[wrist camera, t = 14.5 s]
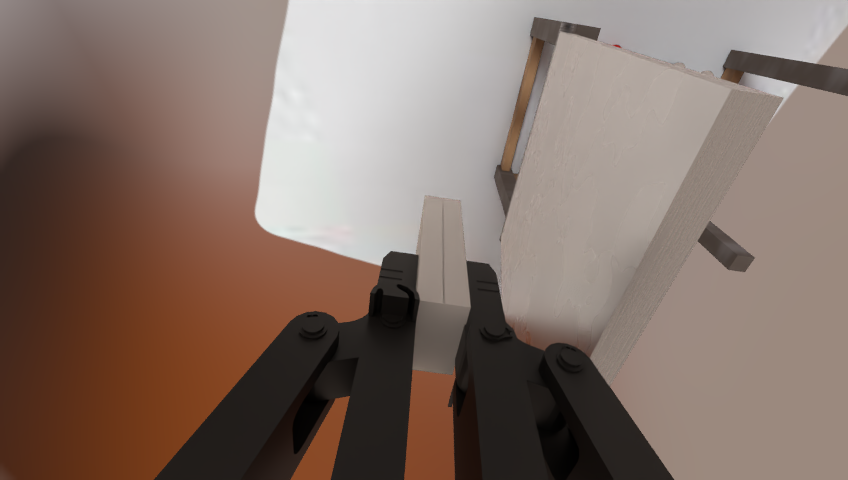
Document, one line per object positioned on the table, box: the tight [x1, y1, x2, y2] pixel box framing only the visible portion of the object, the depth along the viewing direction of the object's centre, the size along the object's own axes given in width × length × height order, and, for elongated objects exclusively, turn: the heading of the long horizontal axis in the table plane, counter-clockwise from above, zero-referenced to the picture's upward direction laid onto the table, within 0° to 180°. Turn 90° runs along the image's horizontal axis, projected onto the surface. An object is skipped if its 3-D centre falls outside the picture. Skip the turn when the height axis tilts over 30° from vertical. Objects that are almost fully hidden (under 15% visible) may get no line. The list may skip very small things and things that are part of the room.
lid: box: [500, 22, 783, 386], centre depth 19 cm, size 16×22×1 cm
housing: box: [494, 17, 848, 272], centre depth 35 cm, size 16×20×14 cm
